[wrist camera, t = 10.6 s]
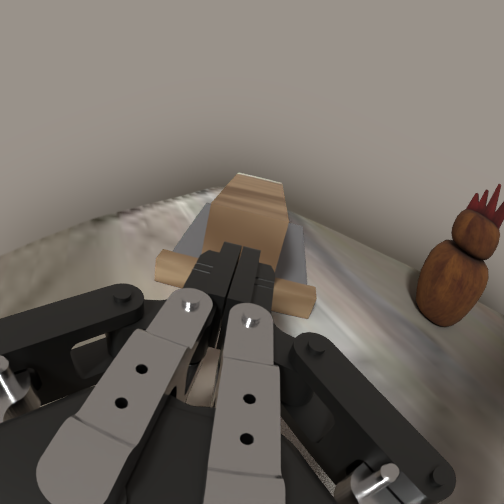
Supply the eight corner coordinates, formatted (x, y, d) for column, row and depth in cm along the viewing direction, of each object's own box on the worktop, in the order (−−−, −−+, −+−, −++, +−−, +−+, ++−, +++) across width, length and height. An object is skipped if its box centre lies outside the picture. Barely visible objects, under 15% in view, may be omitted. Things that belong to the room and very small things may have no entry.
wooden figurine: (466, 332, 26) (535, 200, 19) (436, 340, 24) (516, 187, 17) (429, 293, 31) (484, 170, 24) (397, 295, 29) (457, 156, 22)
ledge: (307, 318, 23) (316, 298, 22) (154, 280, 23) (155, 258, 22) (307, 306, 25) (315, 287, 24) (161, 270, 25) (162, 249, 24)
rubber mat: (307, 303, 25) (308, 300, 25) (163, 267, 25) (163, 264, 25) (301, 228, 38) (302, 226, 38) (206, 204, 38) (206, 202, 38)
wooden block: (289, 222, 20) (281, 183, 34) (210, 203, 20) (238, 172, 34) (269, 290, 21) (271, 224, 36) (197, 273, 21) (228, 214, 36)
